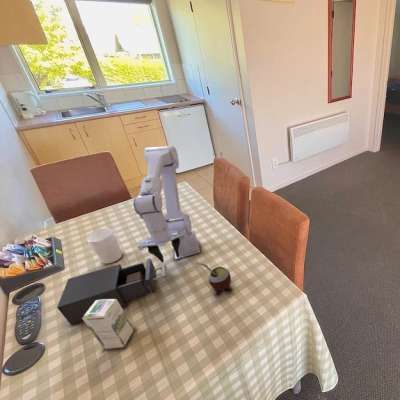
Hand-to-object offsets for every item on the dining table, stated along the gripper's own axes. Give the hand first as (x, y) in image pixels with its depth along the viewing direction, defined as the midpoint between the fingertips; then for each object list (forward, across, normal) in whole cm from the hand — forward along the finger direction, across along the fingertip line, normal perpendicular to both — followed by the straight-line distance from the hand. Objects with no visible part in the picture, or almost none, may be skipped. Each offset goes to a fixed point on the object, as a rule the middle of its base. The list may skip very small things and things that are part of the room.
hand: (170, 257), depth 95 cm
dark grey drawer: (+8, -12, 0) cm, 14 cm away
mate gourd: (+10, +14, -14) cm, 22 cm away
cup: (+10, -24, +24) cm, 35 cm away
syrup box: (+10, -16, -19) cm, 27 cm away
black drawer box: (+9, -24, 0) cm, 25 cm away
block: (+7, -12, 0) cm, 15 cm away
